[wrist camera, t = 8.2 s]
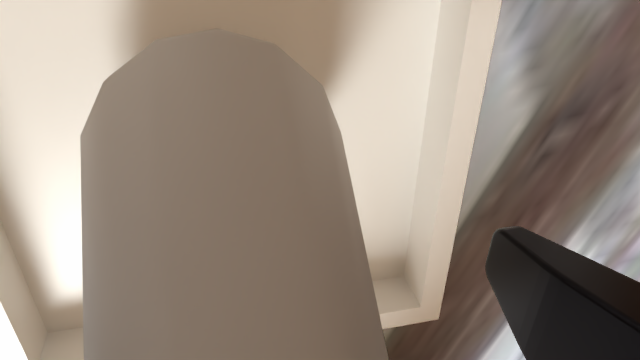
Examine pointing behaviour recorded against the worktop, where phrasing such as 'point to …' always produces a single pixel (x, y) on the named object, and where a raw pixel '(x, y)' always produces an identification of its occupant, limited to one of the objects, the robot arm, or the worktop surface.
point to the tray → (312, 55)
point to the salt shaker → (220, 211)
